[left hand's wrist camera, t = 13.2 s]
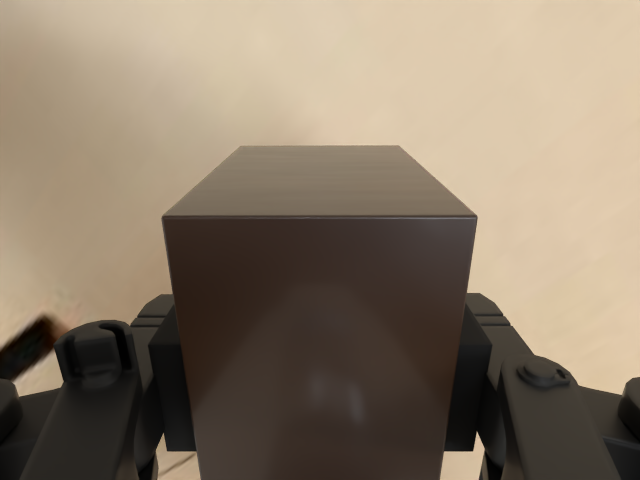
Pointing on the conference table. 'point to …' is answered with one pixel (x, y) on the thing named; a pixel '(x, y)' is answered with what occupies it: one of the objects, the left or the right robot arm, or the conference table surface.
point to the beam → (319, 312)
